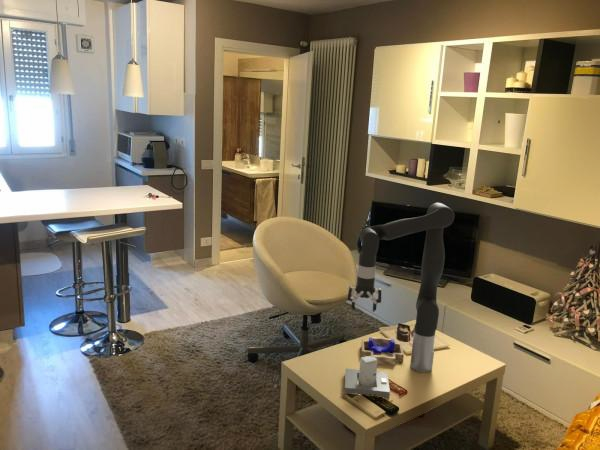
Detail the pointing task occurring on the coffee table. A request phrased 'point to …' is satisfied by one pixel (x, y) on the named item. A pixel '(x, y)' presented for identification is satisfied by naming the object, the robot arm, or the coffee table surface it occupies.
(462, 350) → the coffee table surface
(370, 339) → the cable clip
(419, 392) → the coffee table surface
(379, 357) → the tray
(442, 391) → the coffee table surface
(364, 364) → the skincare box
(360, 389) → the socket plate
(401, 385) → the coffee table surface
